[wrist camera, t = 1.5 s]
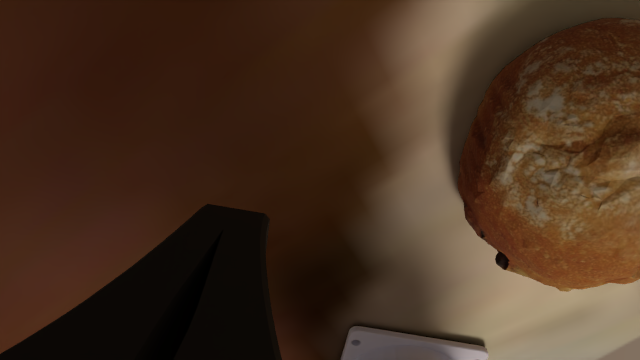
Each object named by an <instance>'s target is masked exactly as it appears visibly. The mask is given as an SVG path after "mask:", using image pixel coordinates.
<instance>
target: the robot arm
mask: <svg viewBox="0 0 640 360" xmlns="http://www.w3.org/2000/svg"><path fill="white" fill-rule="evenodd" d="M269 221H270V219H269V218H268V217H267V215H266V214H264V213H258V212H252V211H246V210H240V209H234V208H228V207H222V206H216V205H210V204H207V205H205V206H203V207H202V208H201V209H200V210H198V211H197V212H196V213H195V214H194V215H193V216H192V217H191V218H189V219H188V220H187V221H186V222H185V223H184V224H183V225H181V226H180V227H179V228H178V229H177V230H176V231H175V232H173V233H172V234H171V235H170V236H169V237H167V238H166V239H165V240H164V241H163V242H162V243H160V244H159V245H158V246H157V247H155V248H154V249H153V250H152V251H150V252H149V253H148V254H147V255H145V256H144V257H143V258H142V259H140V260H139V261H138V262H137V263H135V264H134V265H133V266H132V267H130V268H129V269H128V270H126V271H125V272H124V273H122V274H121V275H120V276H118V277H117V278H115V279H114V280H113V281H111V282H110V283H109V284H107V285H106V286H104V287H103V288H102V289H100V290H99V291H98V292H96V293H95V294H93V295H92V296H91V297H89V298H88V299H86V300H85V301H84V302H82V303H81V304H79V305H78V306H76V307H75V308H73V309H72V310H70V311H69V312H67V313H66V314H64V315H63V316H61V317H60V318H58V319H57V320H55V321H53V322H52V323H50V324H49V325H47V326H46V327H44V328H42V329H41V330H39V331H38V332H36V333H34V334H33V335H31V336H30V337H28V338H26V339H25V340H23V341H21V342H20V343H18V344H16V345H15V346H13V347H11V348H10V349H8V350H6V351H4V352H3V353H1V354H0V360H282V359H281V354H280V350H279V346H278V341H277V336H276V331H275V326H274V321H273V316H272V310H271V303H270V297H269V288H268V279H267V270H266V246H267V238H268V230H269ZM488 356H489V355H488V351H487V349H486V348H485V347H483V346H479V345H473V344H466V343H460V342H454V341H448V340H442V339H436V338H430V337H423V336H417V335H411V334H405V333H399V332H393V331H387V330H380V329H374V328H368V327H362V326H354V327H352V328H350V330H349V332H348V336H347V339H346V343H345V346H344V349H343V353H342V356H341V360H487V359H488Z"/></svg>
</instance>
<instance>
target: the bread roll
mask: <svg viewBox="0 0 640 360" xmlns="http://www.w3.org/2000/svg"><path fill="white" fill-rule="evenodd" d="M459 163H460V172H459V176H458V190H459V193H460V195H461V198H462V200H463V202H464V211H465V218H466V220H467V221H468V223H469V224H470V225H471V226H472V228H473V229H474V230H475V232H476V233H477V235H478V236H479V237H481V238H482V239H484V240H485V241H486V242H487V243H488V244H490V245H491V246H493V247H494V248H495V249H497V251H498V254H497V255H496V258H495V260H496V264H497V265H499V266H500V267H501V268H502V269H504V270H507V271H511V272H515V273H517V274H520V275H523V276H526V277H529V278H532V279H534V280H536V281H539V282H541V283H543V284H545V285H549V286H553V287H556V288H557V289H559V290H560V291H571V290H572V289H586V288H590V287H597V286H600V285H604V284H607V283H618V284H627V283H632V282H634V281H636V280H638V279H640V20H632V19H623V18H602V19H598V20H594V21H591V22H587V23H583V24H580V25H577V26H574V27H571V28H568V29H566V30H563V31H560V32H558V33H556V34H554V35H552V36H549V37H547V38H546V39H544V40H542V41H540V42H539V43H537V44H536V45H534V46H533V47H531V48H530V49H528V50H527V51H525V52H524V53H523V54H521V55H520V56H519V57H517V58H516V59H515V60H513V61H512V62H511V63H509V64H508V65H507V66H505V68H504V69H503V70H502V71H501V72H500V73H499V74H498V75H497V77H496V78H495V79H494V80H493V81H492V82H491V84H490V86H489V88H488V90H487V91H486V94H485V96H484V100H483V101H482V103H481V104H480V106H479V107H478V113H477V117H476V118H475V119H474V121H473V123H472V125H471V128H470V131H469V135H468V138H467V140H466V142H465V145H464V149H463V152H462V155H461V159H460V162H459Z"/></svg>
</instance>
